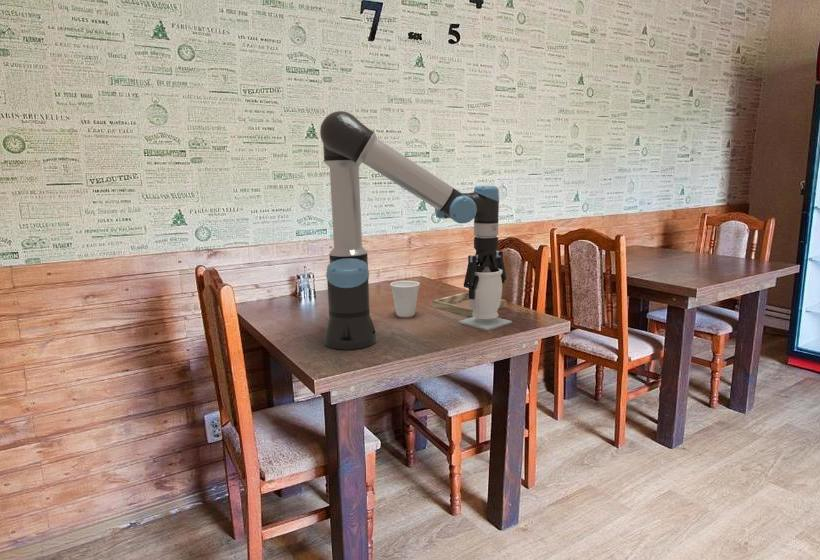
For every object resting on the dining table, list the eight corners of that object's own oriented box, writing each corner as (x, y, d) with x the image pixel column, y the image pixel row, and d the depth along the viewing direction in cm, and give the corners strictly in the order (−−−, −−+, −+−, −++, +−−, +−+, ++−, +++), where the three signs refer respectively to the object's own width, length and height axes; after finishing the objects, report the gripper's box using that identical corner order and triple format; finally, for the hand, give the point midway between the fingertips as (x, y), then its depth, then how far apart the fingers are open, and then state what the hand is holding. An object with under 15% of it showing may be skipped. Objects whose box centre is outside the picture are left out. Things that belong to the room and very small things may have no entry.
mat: (487, 330, 168) (487, 328, 168) (458, 322, 177) (458, 321, 177) (512, 322, 176) (512, 321, 176) (483, 315, 185) (483, 313, 185)
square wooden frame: (470, 317, 183) (470, 309, 183) (432, 307, 197) (432, 300, 196) (506, 307, 195) (506, 300, 195) (467, 298, 209) (467, 291, 208)
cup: (417, 319, 181) (416, 287, 179) (387, 318, 183) (387, 286, 181) (422, 312, 191) (422, 280, 189) (394, 310, 193) (393, 280, 191)
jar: (504, 320, 171) (504, 272, 168) (470, 320, 171) (470, 273, 168) (499, 311, 181) (500, 266, 178) (467, 311, 181) (467, 266, 178)
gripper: (470, 241, 161) (469, 314, 165) (518, 233, 175) (517, 301, 180) (451, 239, 166) (451, 310, 171) (500, 231, 181) (499, 297, 186)
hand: (485, 305), depth 175 cm, fingers closed on jar, 10 cm apart
